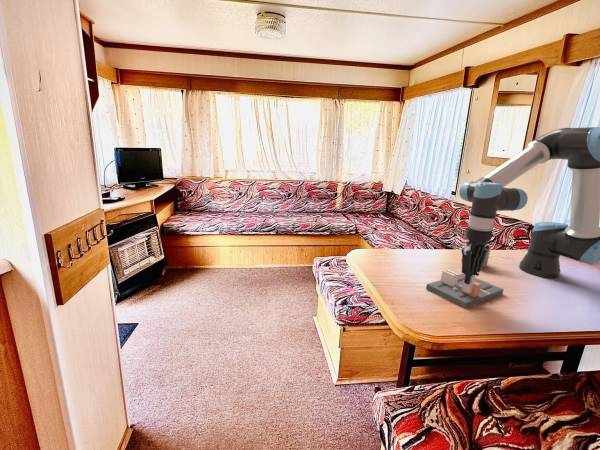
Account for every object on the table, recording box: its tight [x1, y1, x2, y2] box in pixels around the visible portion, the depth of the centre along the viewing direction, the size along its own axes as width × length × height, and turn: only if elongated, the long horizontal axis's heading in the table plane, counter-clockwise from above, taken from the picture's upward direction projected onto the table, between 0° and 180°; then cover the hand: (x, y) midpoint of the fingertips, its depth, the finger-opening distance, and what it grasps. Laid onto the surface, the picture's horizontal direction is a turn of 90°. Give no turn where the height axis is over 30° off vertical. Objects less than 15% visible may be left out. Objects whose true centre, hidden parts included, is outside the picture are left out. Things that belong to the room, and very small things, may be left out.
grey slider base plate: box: [425, 273, 504, 309], centre depth 122 cm, size 24×16×3 cm, turn 121°
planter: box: [461, 240, 491, 269], centre depth 150 cm, size 11×11×10 cm
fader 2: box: [461, 280, 481, 297], centre depth 115 cm, size 3×5×5 cm, turn 31°
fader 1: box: [440, 269, 460, 287], centre depth 123 cm, size 3×5×5 cm, turn 31°
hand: (467, 291), depth 114 cm, fingers closed
